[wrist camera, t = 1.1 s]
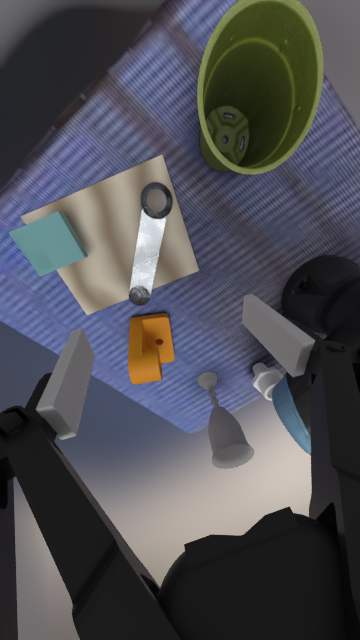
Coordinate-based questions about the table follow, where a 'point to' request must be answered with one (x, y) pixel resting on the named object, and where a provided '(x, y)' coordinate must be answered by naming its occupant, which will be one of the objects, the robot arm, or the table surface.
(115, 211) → the base board
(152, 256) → the link
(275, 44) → the plant pot
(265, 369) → the pipe fitting
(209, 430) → the chalice
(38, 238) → the block
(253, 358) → the table surface
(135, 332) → the bracket
